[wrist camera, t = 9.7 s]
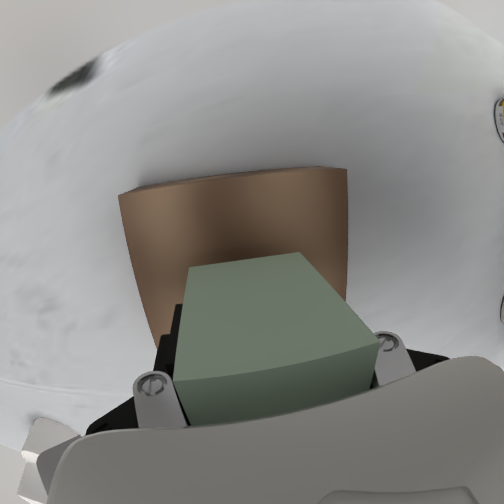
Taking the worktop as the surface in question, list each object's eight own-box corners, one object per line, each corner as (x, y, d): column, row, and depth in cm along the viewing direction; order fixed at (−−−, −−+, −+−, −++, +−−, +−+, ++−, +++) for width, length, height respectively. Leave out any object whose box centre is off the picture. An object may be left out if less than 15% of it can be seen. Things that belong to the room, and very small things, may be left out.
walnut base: (319, 166, 18) (346, 168, 14) (321, 320, 22) (341, 350, 18) (137, 187, 16) (117, 195, 13) (172, 343, 20) (167, 377, 17)
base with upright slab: (59, 416, 22) (32, 493, 11) (104, 455, 25) (92, 526, 14) (23, 418, 22) (-3, 480, 11) (65, 455, 25) (49, 515, 14)
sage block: (299, 251, 13) (380, 341, 6) (301, 339, 14) (352, 443, 8) (189, 267, 12) (172, 381, 6) (207, 354, 14) (214, 472, 7)
